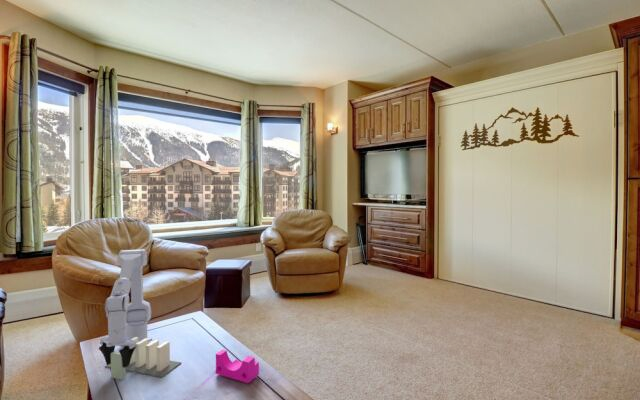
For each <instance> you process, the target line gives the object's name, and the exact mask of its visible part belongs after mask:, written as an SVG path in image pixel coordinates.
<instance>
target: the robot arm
mask: <svg viewBox="0 0 640 400" xmlns="http://www.w3.org/2000/svg"><path fill="white" fill-rule="evenodd" d="M117 260H118V263H119V266H120V271H119V273H120V274H119V278H118V279H116V280H115V281H114V284H113V286H112V287H113V288H112V290H111V292H110V293H111V294H110V296H109V297H107V298H106V300H105V302H104V309H105V313H106V315H105V316H106V318H107V331H108V332H107V333H108V334H107V336H103V337H101V338H99V344H100V345H101V346H99V347H98V350H99V351H100V352H101V354H102V355H103V357H104V361H105V363H106V365H109V364H111V353H112V352H114V351H115V348H116V347H118V346H119V347H122V348H121V349H119V351H118V352H120V354H121V357H122V364H123V368H125V367H127V366H129V364H130V360H131V357H132V354H133V352H134V350H135V348H136V341H133V340H131V339H132V338H134V337H139V342H140V341H141V340H143V339H145V338H147V339H149V342H150V341H151V340H153V338H152V337H148V322H149V321H150V320H151V317H152V307H151V303H150V302H149V301H146V300H144V288H143V287H144V286H143V282H144V281H143V278H144V277H143V267H145V266H147V265H148V264H147V263H148V253H147V250H146V249H145V248H143V249H142V248H141V249H125V250H124V249H121V250H120V251H119V252H118V259H117ZM129 295H130V296H129ZM130 300H131V301H130Z"/></svg>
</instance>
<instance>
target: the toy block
mask: <svg viewBox="0 0 640 400" xmlns="http://www.w3.org/2000/svg"><path fill="white" fill-rule="evenodd" d="M259 365H260V362H259V361H256V359H255V357H254V356H251V355H248V356H247V357H245V358H244V359H243V360H242V361H239V360H238V359H237V358H236V359H235V360H234V361H232V360H231V358H230V357H229V355H228V351H227V349H226V350H225V349H222V350H220V351H218V352H217V353H215V374H216V375H219V376H222V377H225V378H226V377H227V378H229V379H234V380H237V381H240V382H242V383H243V382H244V383H246V384H249V383H251V382H252V381H253V380H254V379H255V378H257V376H258V375H259V374H260V368H259V367H260V366H259Z"/></svg>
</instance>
